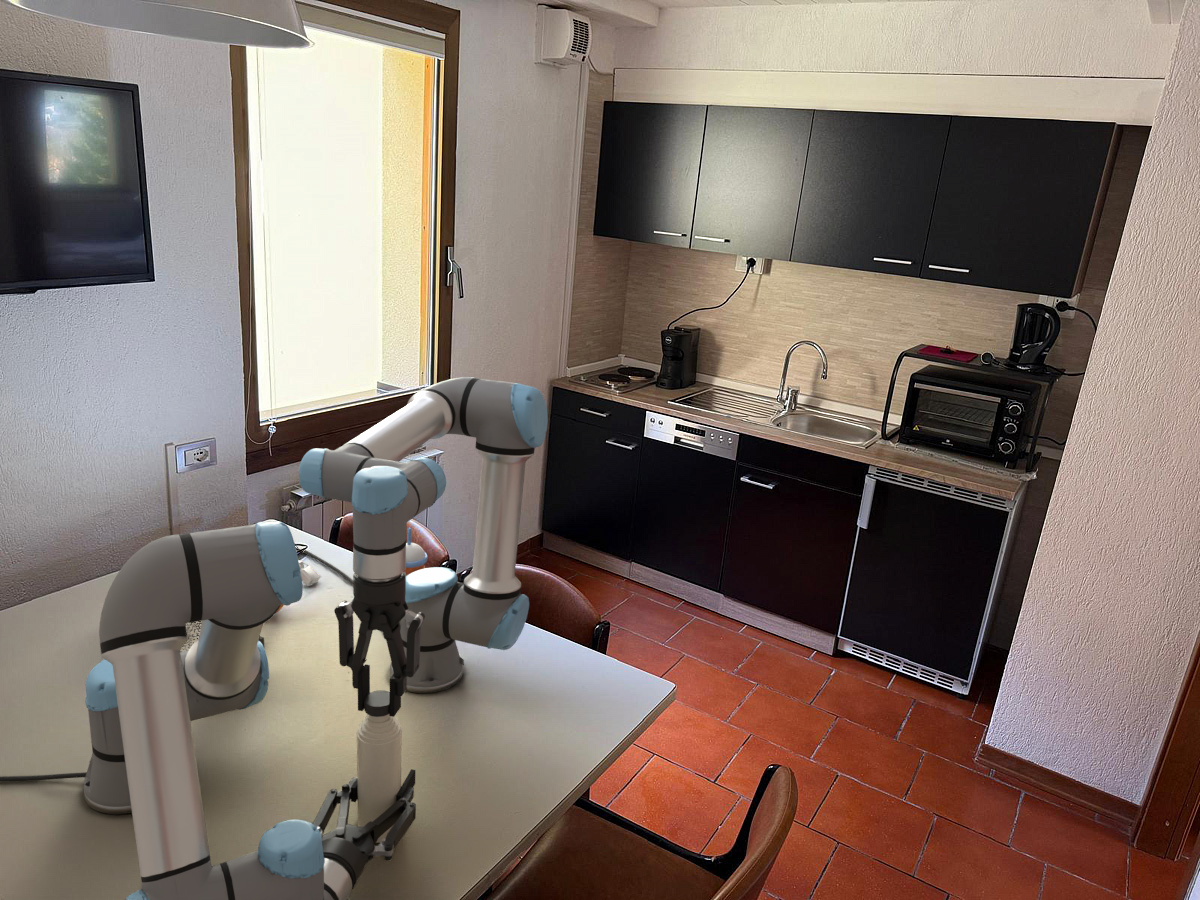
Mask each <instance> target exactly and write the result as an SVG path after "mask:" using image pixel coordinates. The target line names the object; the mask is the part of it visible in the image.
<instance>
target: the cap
mask: <svg viewBox="0 0 1200 900" xmlns="http://www.w3.org/2000/svg"><path fill="white" fill-rule="evenodd" d="M364 701H365V702H364V710H363V711H364V712H365V713H366V715H367V714H368V715H370V716H374V717H381V716H386V715H388V714H389V713H390V690H383V689H379V690H373V691H370V693H369V694H368V695H367V696H366V697H365V699H364Z"/></svg>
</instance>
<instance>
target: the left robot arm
mask: <svg viewBox="0 0 1200 900" xmlns="http://www.w3.org/2000/svg"><path fill="white" fill-rule="evenodd" d="M295 544H296V543H295V541H294V536H293V533H292V532H291V529H290V527H289V526H288V525H287V524H286V523H284V522H282V521H268V522H263V521H258V522H256V523H255V524H254V523H253V524H247V525H241V526H231V527H225V528H218V529H211V530H203V531H196V532H188V533H181V534H178V533H177V534H171V535H166V536H162V537H159V538H157V539H154V540H152V541H150V542H149V543H146V544H145V545H144V546H142V547H141V548H140V549H139V550H137V551H136V552H135V553H134V554H133V555H132V556H130V557H129V558H128V560H126V562H125V563H124V564H123V566H122V567H121V568H120V570H119V571H118V572H117V574H116V576H115V578H114V579H113V580H112V582H111V584H110V587H109V589H108V591H107V592H106V593H107V594H106V596H105V599H104V602H103V606H102V610H101V612H100V619H99V629H98V635H99V647H100V654H101V661H99V663H97V664H95V666H94V667H93V668H92V669H91V670H90V671H89V673H88V675H87V677H86V681H85V697H84V698H85V699H84V703H85V704H84V705H85V707H86V709H87V710H88V722H89V731H90V732H89V733H90V743H91V748H92V749H91V750H92V754H91V756H90V760H89V764H88V766H87V771H85V772H68V773H66V772H65V773H55V774H54V773H53V774H41V775H40V774H39V775H10V776H9V775H8V776H6V775H5V776H4V775H3V776H2V775H1V776H0V782H29V781H30V782H31V781H47V780H61V779H77V778H84V781H83V795H84V801H85V802H86V804H87V805H88V806H89V807H90V808H91V809H92V810H94V811H96V812H99V813H102V814H109V815H126V814H131V815H132V824H133V830H134V839H135V846H136V854H137V861H138V868H139V876H140V883H141V884H140V885H141V886H140V889H137V891H134V892H132V893H130V894H129V895H128V896H126V898H125V900H348V898H349V897H350V895H351V893H352V891H353V889H354V888H355V886H356V884H357V883H358V881H359V879H360V877H361V875H362V874H363V872H364V869H365V868H366V865H367V864H368V862H370V861H371V860H372V859H374V857H383V859H384V861H386V862H389V861H392V860H393V858H394V852H395V849H396V848H397V846H398V845H399V843H400V842H401V841H402V839H403V837H404V836H405V835H406V833H407V832H408V830H409V829H410V827H411V826H412V825H413V823H414V821H415V820H416V818H417V804H416V803H415V802H412V801H413V799H414V797H415V794H414V793H415V785H416V769H413V768H412V769H410V771H409V772H408V774H407V776H406V777H405V778H404V781H403V783H401V788H400V790H399V792H398V793H397V795H396V802H395V803H394V804H393V805H392V806H391V807H389V808H388V809H387V810H386V811H385V812H384V813H382V814H381V815H380V816H379V817H378V818H376V819H375V820H374V821H373V822H371V821H370V822H368V823H367V824H366V825H365V826H364V827H362V826H358V825H357V826H356V825H354V824H350V823H348V822H349V814H350V804H351V802H352V803H356V802H357V777H354V776H353V777H352V778H350V780H349V782H348V783H344V784H342V785H341V790H337V789H336V788H331V789H330V790H329V791H328V793H327V794H326V797H325V799H324V801H323V803H322V804H321V807H320V808H319V811H318V813H317V814H316V816H315V818H314V820H313V822H310V821H308V820H304V819H298V818H297V819H296V818H295V819H294V818H291V819H287V820H283V821H280V822H278V823H275V824H274V825H273V826H272V828H270V829H267V830H265V832H264V833H263V835H262V836H261V838H260V840H259V843H258V847H257V850H256V851H253V852H250V853H248V854H244V855H241V856H238V857H236V858H233V859H230V860H226V861H224V862H219V863H218V864H215V865H213V864H212V860H211V854H210V853H211V852H210V846H209V839H208V838H209V837H208V832H207V826H206V818H205V811H204V805H203V804H204V803H203V798H202V791H201V785H200V778H199V771H198V764H197V763H198V762H197V757H196V749H195V743H194V737H193V729H192V723H191V722H192V721H196V720H200V719H204V718H205V719H206V718H209V717H213V716H217V715H221V714H224V713H229V712H234V711H237V710H239V711H240V710H246V709H247V708H249V707H252V706H255V705H257V704H259V703H261V702H262V701H263V700H264V699H265V697H266V695H267V693H268V689H269V679H270V668H269V661H268V656H267V651H266V649H265V646H264V647H263V645H262V643H261V642H260V641H259V637H260V636H261V633H262V631H263V627H264V624H266V623H267V622H268V621H269V620H271V619H272V618H273V617H274V616H275V615H276V614H277V613H278V612H277V610H278V609H279V607H280V605H284V606H285V607H287V606H290V605H291V604H295V603H298V602H299V601H300V600H301V599H302V597H303V595H304V593H303V592H304V589H303V581H302V578H301V571H300V565H299V561H298V560H299V556H298V551H297V548H296V547H295ZM276 612H277V613H276ZM275 613H276V614H275ZM196 622H201V625H200V631H199V637H198V638H197V639H196V640H195V641H194V642H193V643H192V644H191V645H190V647H189V649H188V650H183V651H181V650H182V648H183V647H184V645H185V644H186V642H188V634H187V627H186V625H187V624H188V623H189V624H190V623H191V624H192V623H196ZM338 804H339V811H338V817H337V823H336V828H335V829H332V830H331V831H329V832H327V833H325V834H324V832H325V831H326V828H327V827H328V825H329V823H330V820H331V819H332V816H333V814H334V812H335V810H336V808H337V806H338ZM392 826H393V827H392ZM391 827H392V828H391ZM389 828H391V829H390V831H389V832H388V834H387V836H386V839H385V838H383V839H382V842H380V843H379V844H377V843H376V842H377V840H378V838H379V837H380V836H381V835H383V834H384V833H385V832H386V831H387V830H388V829H389ZM376 844H377V845H376Z"/></svg>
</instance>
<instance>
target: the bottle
mask: <svg viewBox="0 0 1200 900" xmlns="http://www.w3.org/2000/svg"><path fill="white" fill-rule="evenodd" d="M402 736H403V728H402V726H401V723H400V721H399V719H398V718H397V717H396V715H395V716H394V717H392V716H389V714H388V715H386V716H381V717H374V716H370V715H368V714H367V713H366V716H365V717H364V718H363V719H362V721H361V723H360V724H359V726H358V728H357V731H356V778H357V801H356V802H357V804H356V805H357V826H362V827H364V826H365V825H366V824H367V823H368V822H370V821H371V822H373V821H374V820H375V819H376V818H378V817H379V816H380V815H381V814H382V813H384V812H385V811H386V810H387V809H388V808H389V807H391V806H392V805H393V804H394V803H395V802H396V795H397V793H398V792H399V790H400V788H401V786H402V761H403V760H402V753H403V752H402V751H403V750H402V745H403V743H402V742H403V739H402V738H403V737H402ZM392 827H393V826H392ZM392 827H391V828H392ZM391 828H389V829H388V830H387V831H386V832H385V833H384V834H383V835H381V836H380V837H379V838H378V840H377V842H376V843H375V844H377V843H379V844H380V842H382V839H383V838H385V839H386V836H387V834H388V832H389V831H390V829H391Z"/></svg>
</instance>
